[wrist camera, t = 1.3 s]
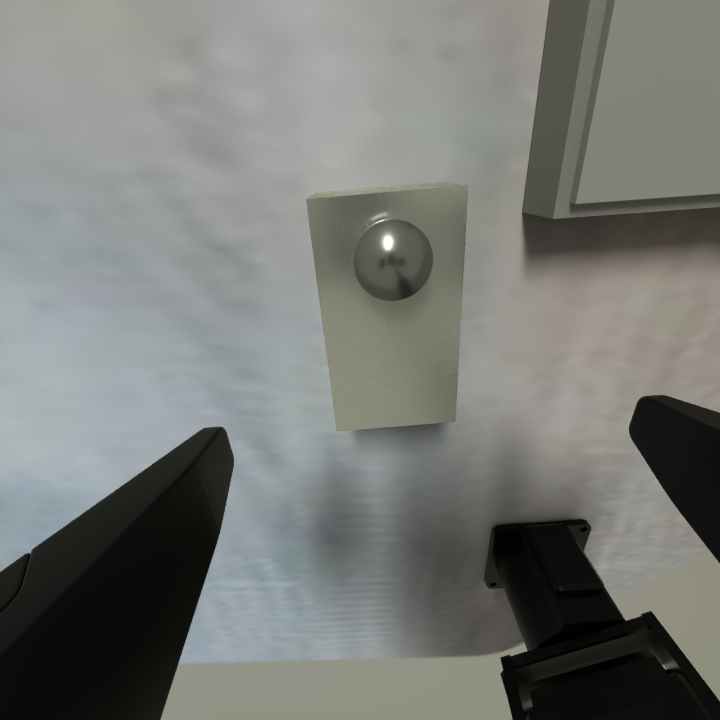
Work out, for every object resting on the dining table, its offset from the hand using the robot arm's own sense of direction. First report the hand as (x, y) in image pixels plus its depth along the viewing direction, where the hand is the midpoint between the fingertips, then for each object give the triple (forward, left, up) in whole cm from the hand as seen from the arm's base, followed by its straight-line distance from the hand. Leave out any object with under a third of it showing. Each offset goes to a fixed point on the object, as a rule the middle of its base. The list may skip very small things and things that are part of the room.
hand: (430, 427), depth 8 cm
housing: (0, 0, -10) cm, 10 cm away
